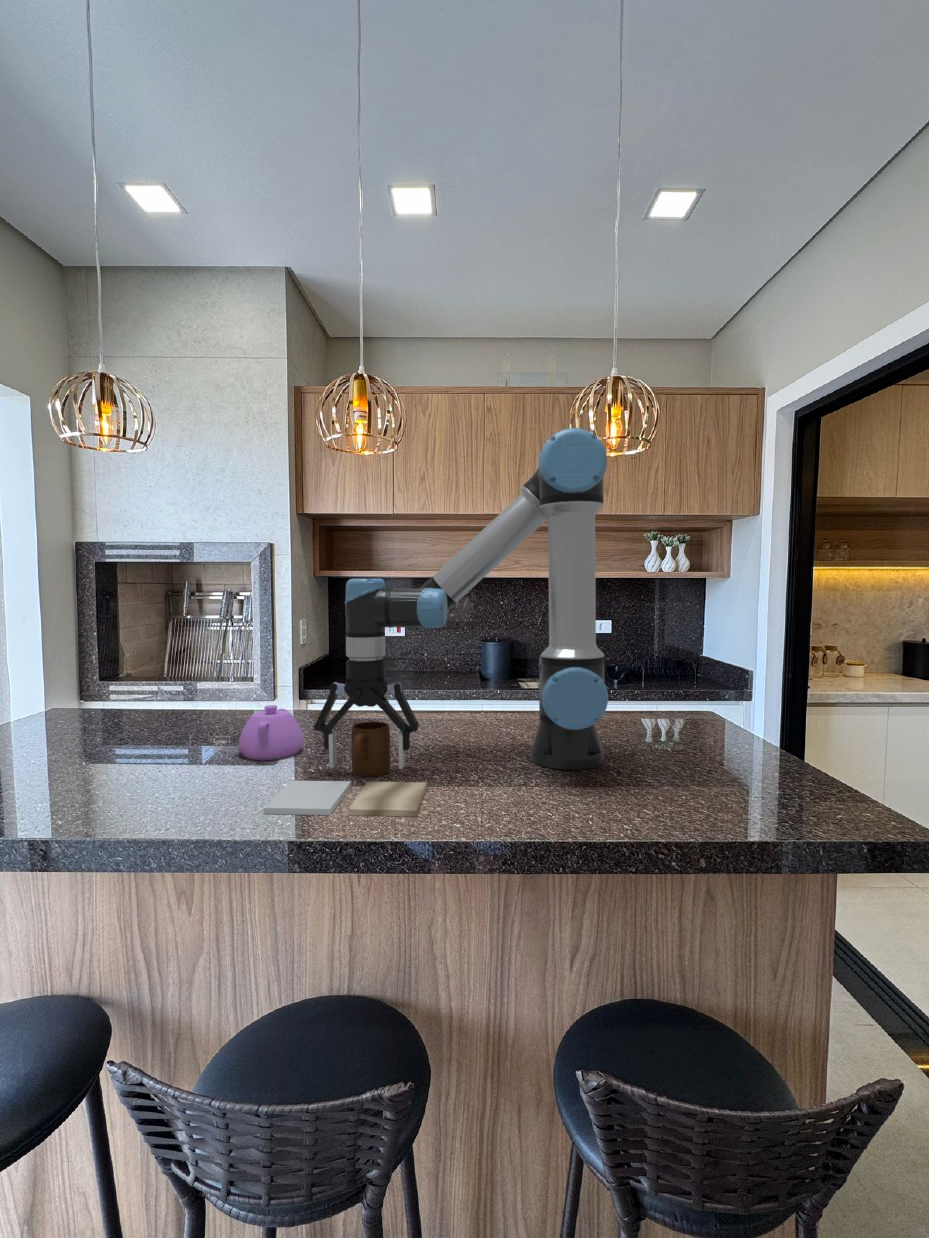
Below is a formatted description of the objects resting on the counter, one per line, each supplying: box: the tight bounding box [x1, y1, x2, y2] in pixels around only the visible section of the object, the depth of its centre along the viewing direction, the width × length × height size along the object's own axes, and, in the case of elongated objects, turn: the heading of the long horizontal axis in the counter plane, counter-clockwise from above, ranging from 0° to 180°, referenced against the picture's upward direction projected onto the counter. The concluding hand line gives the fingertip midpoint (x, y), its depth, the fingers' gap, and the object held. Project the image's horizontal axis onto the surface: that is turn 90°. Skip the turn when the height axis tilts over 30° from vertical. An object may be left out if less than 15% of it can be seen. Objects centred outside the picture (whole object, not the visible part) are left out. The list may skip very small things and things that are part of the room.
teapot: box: [238, 704, 305, 761], centre depth 136 cm, size 14×20×11 cm
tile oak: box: [347, 781, 428, 817], centre depth 105 cm, size 11×14×1 cm
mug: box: [350, 720, 391, 778], centre depth 119 cm, size 12×8×9 cm, turn 169°
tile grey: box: [262, 780, 352, 816], centre depth 106 cm, size 11×14×1 cm
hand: (367, 766), depth 119 cm, fingers open, 13 cm apart
